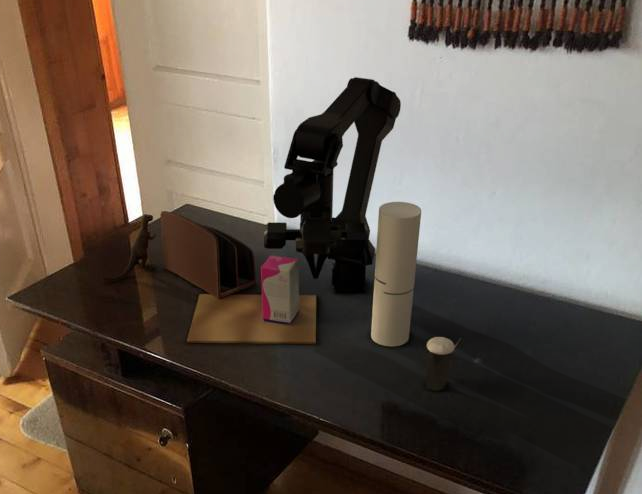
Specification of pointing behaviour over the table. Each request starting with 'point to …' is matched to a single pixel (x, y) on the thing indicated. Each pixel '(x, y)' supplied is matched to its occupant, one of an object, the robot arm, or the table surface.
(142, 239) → the dinosaur model
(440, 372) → the milkshake
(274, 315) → the supplement box
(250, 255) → the letter holder
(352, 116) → the robot arm
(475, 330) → the table surface
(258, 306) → the desk mat
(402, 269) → the cylindrical container
